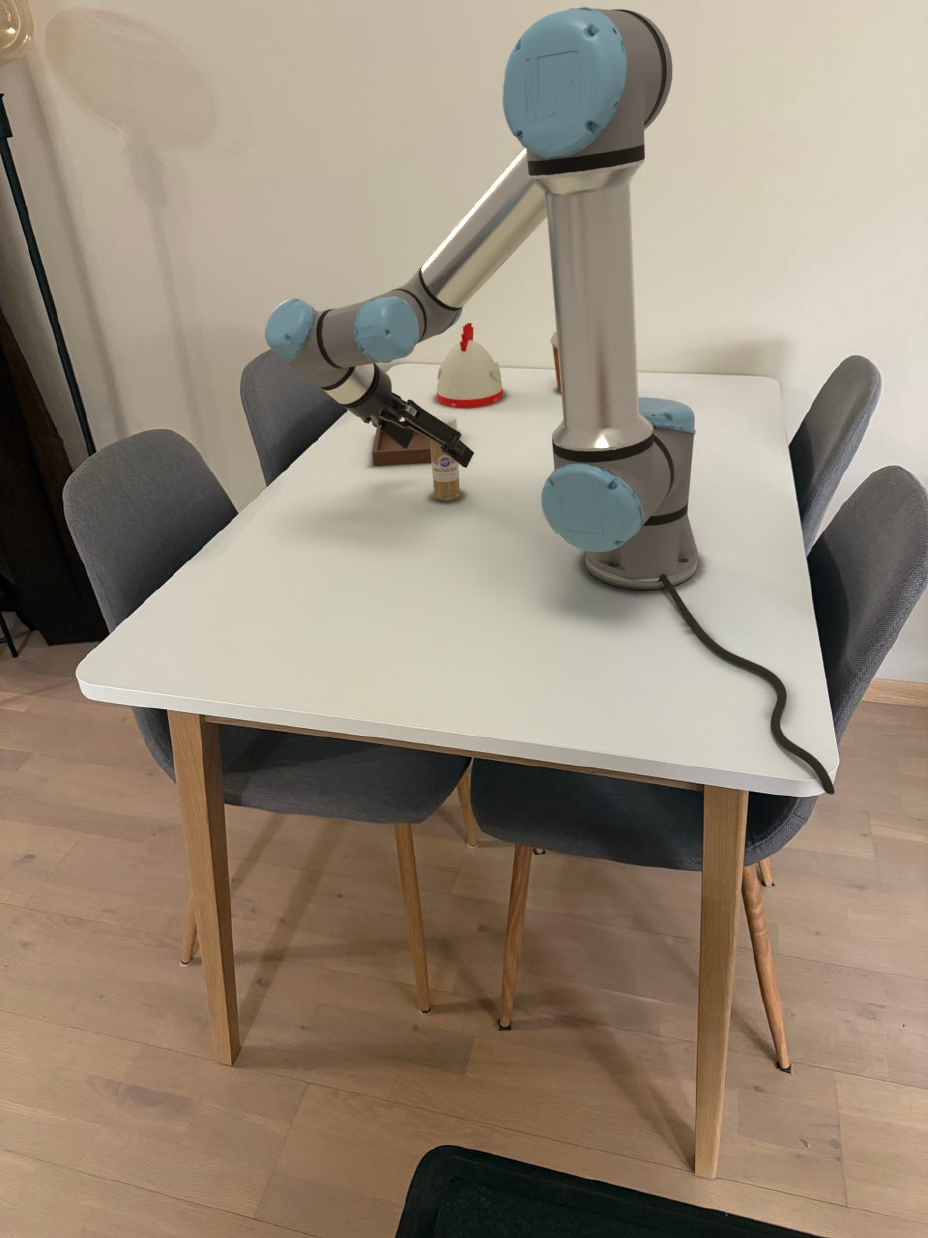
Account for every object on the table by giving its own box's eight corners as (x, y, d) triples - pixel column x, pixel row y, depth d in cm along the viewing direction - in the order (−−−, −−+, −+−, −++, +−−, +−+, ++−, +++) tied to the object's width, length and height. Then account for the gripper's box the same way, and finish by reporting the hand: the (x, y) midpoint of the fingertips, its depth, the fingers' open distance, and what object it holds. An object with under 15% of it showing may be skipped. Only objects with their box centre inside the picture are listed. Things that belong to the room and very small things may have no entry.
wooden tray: (454, 460, 162) (453, 447, 161) (373, 465, 163) (372, 452, 161) (453, 430, 176) (452, 417, 174) (379, 435, 176) (377, 422, 174)
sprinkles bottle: (438, 503, 147) (431, 424, 140) (430, 493, 151) (424, 415, 144) (464, 498, 148) (459, 419, 141) (456, 488, 152) (451, 411, 145)
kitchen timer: (508, 387, 197) (506, 316, 189) (494, 408, 185) (491, 334, 178) (447, 385, 200) (442, 316, 192) (430, 406, 189) (424, 333, 181)
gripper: (429, 373, 120) (506, 446, 137) (312, 345, 135) (395, 414, 152) (403, 422, 120) (484, 490, 137) (290, 389, 135) (375, 453, 152)
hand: (438, 450), depth 144 cm, fingers open, 13 cm apart
